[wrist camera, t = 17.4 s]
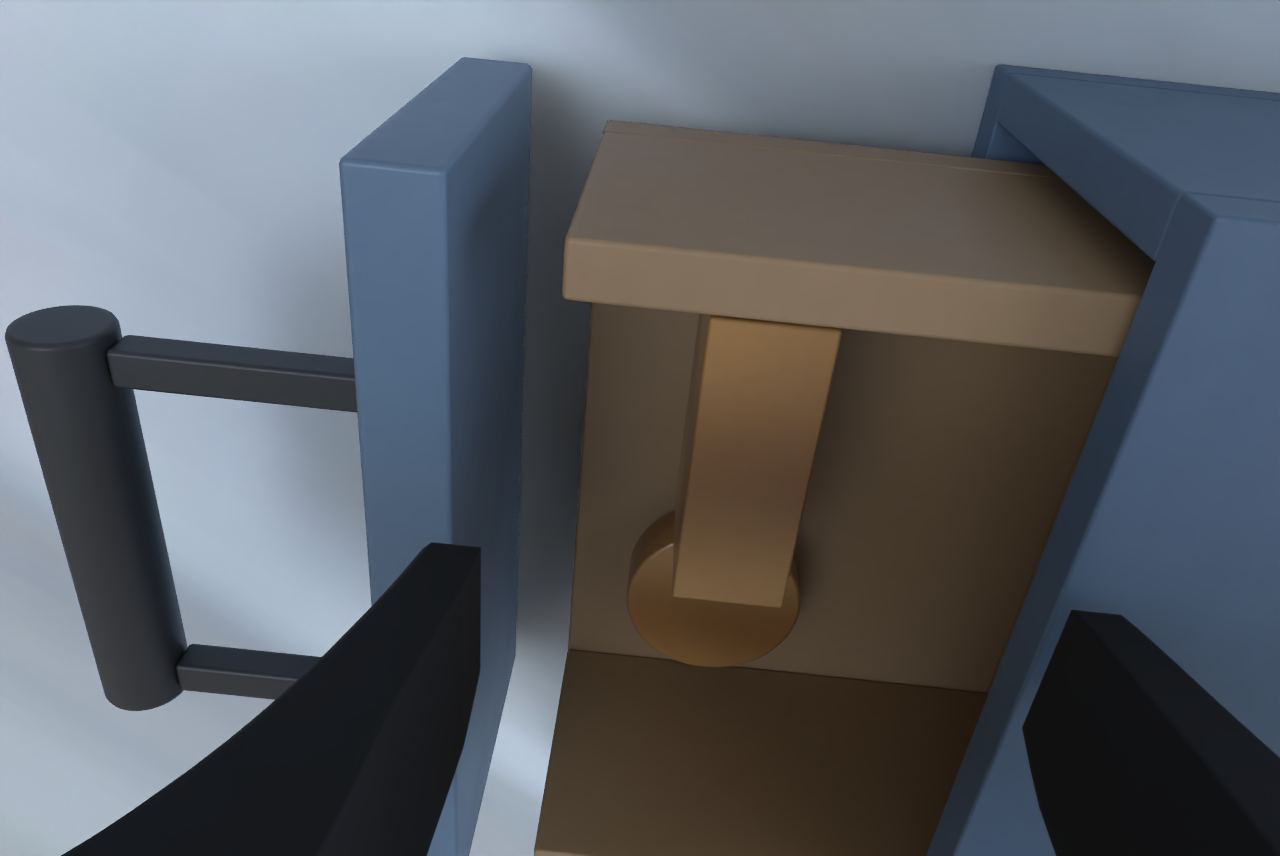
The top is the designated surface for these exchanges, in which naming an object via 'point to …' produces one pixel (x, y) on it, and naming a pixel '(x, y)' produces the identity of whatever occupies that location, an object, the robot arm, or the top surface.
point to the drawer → (655, 454)
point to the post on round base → (736, 494)
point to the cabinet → (1153, 417)
